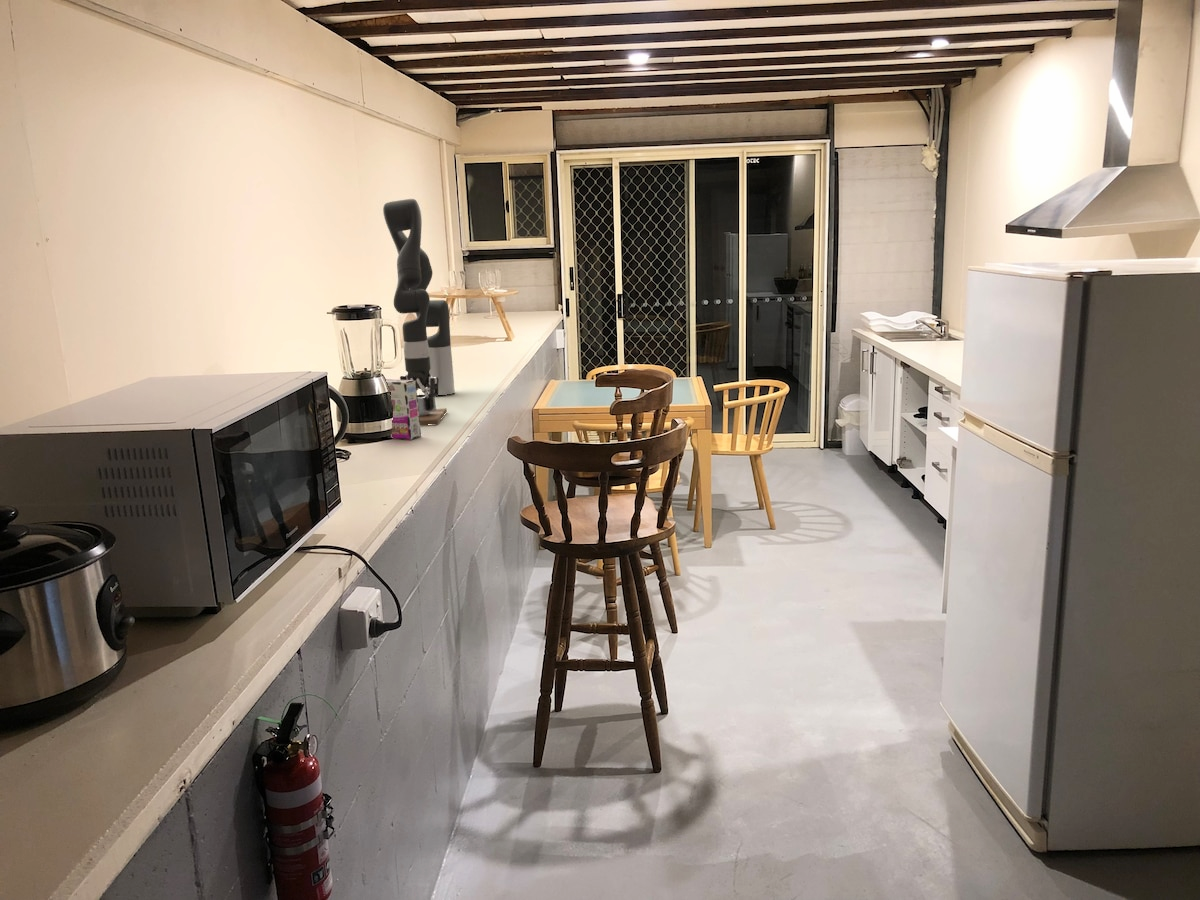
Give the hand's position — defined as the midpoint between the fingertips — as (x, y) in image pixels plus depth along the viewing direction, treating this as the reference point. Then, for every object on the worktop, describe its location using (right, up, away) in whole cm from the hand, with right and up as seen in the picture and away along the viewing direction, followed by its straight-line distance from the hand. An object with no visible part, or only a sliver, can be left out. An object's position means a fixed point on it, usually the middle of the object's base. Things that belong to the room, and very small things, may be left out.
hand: (422, 409), depth 278 cm
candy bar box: (-2, -9, -22) cm, 24 cm away
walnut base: (0, -3, +1) cm, 3 cm away
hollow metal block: (0, -1, 0) cm, 1 cm away
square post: (0, -2, 0) cm, 2 cm away
